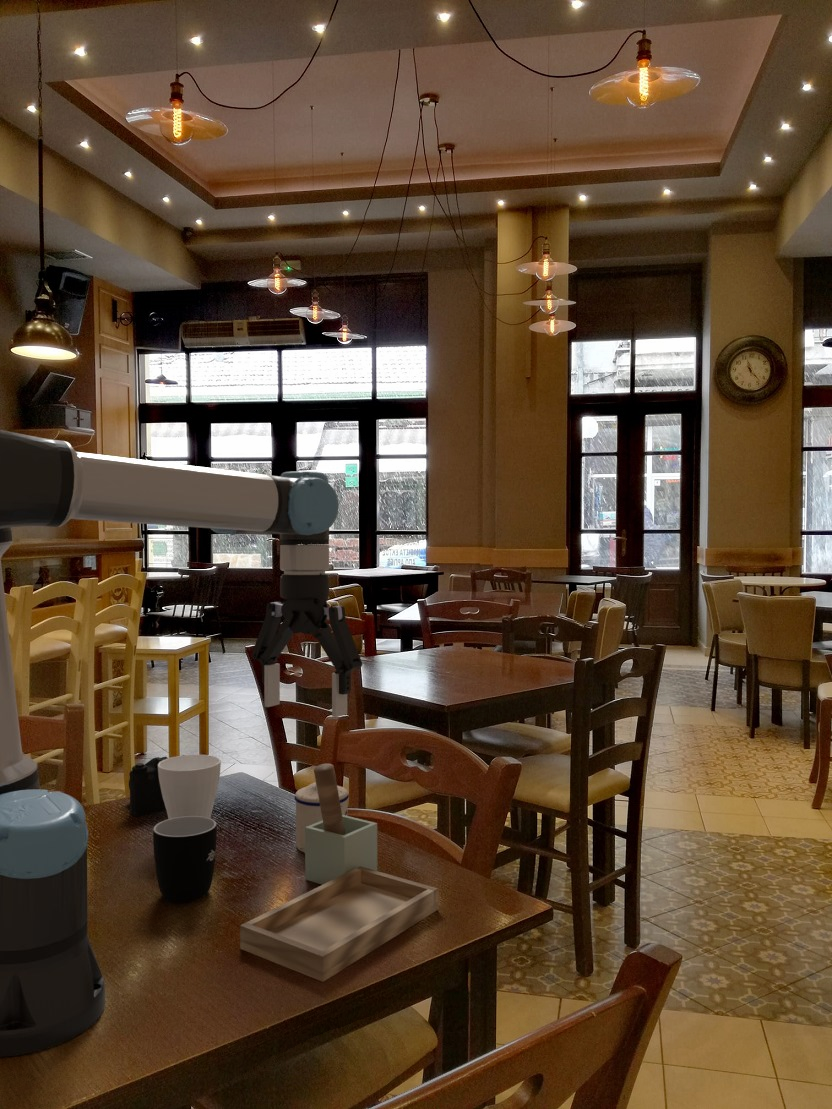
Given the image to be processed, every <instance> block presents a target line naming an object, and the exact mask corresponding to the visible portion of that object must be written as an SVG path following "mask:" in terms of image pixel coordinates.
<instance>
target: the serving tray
mask: <svg viewBox="0 0 832 1109" xmlns="http://www.w3.org/2000/svg"><path fill="white" fill-rule="evenodd" d="M438 889H439V888H438V887H434V886H430V885H428V884H424V883H419V882H417V881H413V880H409V879H405V878H403V877H399V876H395V875H392V874H389V873H385V872H381V871H379V870H377V871H375V870H372V869H368V868H365V867H361V866H360V867H358V868H356V869H354V870H352V871H349V872H347V873H345V874H343V875H341V876H339V877H337V878H335V879H333V880H331V881H329V882H327V883H325V884H323V885H322V884H320V886H317V887H315V888H313V889H311V890H309V891H307V892H305V893H303V894H300V895H299V896H297V897H295V898H293V899H291V900H288V901H287V902H285V903H283V904H280V905H278V906H276V907H275V908H272V909H270V910H269V911H266V912H264V913H262V914H260V915H258V916H257V917H255V918H253V919H251V920H248V921H246V922H244V923H242V924H240V925H239V937H240V938H239V941H240V942H239V943H240V944H239V945H240V947H239V948H240V949H241V950H242V951H245V952H247V953H249V954H252V955H255V956H258V957H260V958H262V959H265V960H267V961H270V962H272V963H274V964H277V965H280V966H282V967H284V968H287V969H290V970H293V971H295V972H298V973H299V974H302V975H305V976H308V977H310V978H312V979H314V980H316V981H320V982H322V983H323V982H326V980H329V979H330V978H332V977H333V976H335V975H336V974H338V973H339V972H341V971H343V970H344V969H346V968H347V967H349V966H351V965H352V964H353V963H355V962H357V961H358V960H361V959H362V958H363V957H365V956H366V955H369V954H370V953H371V952H373V951H375V950H376V949H378V948H379V947H381V946H382V945H384V944H385V943H387V942H389V941H390V940H392V939H393V938H395V937H397V936H399V935H400V934H402V933H403V932H405V931H406V930H407V929H410V928H411V927H413V926H414V925H416V924H417V923H419V922H421V921H422V920H424V919H425V918H427V917H428V916H430V915H432V914H433V913H435V912H436V911H438V910H439V890H438Z"/></svg>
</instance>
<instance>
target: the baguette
mask: <svg viewBox="0 0 832 1109" xmlns="http://www.w3.org/2000/svg"><path fill="white" fill-rule="evenodd" d="M313 773H314V779H315V782H316V786H317V791H318V797H319V802H320V808H321V814H322V819H323V825H324V830H325V831H329V832H333V833H336V834H340V835H346V834H345V829H344V823H343V817H342V811H341V805H340V800H339V794H338V788H337V786H338V784H337V777H336V771H335V767H334V765H333V764H332V763H321V764H319V765H317V766H315V767H314V768H313Z"/></svg>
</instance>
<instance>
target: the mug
mask: <svg viewBox="0 0 832 1109" xmlns="http://www.w3.org/2000/svg"><path fill="white" fill-rule="evenodd" d="M217 826H218V825H217V822H216V820H214V819H212V818H211V819H210V818H207V817H201V816H184V817H176V818H172V819H165V820H163V821H160V822H158V823H157V824H155V826H154V827H153V830H152V844H153V855H154V866H155V867H154V868H155V873H156V874H155V875H156V879H157V880H156V881H157V884H158V888H159V891H160V894H161V896H162V898H163V899H164V900H165V901H167V902H169V903H175V904H186V903H187V904H188V903H193V902H196V901H199V900H201V899H203V898H204V897H206V896H207V895H208V893H209V891H210V890H211V885H212V883H213V877H214V871H215V864H216V853H217V841H218V840H217V839H218V838H217V836H218V833H217V832H218V831H217V830H218V828H217Z"/></svg>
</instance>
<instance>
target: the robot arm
mask: <svg viewBox="0 0 832 1109" xmlns="http://www.w3.org/2000/svg"><path fill="white" fill-rule="evenodd" d="M338 513H339V500H338V495H337V493H336V491H335V489H334V487H333V486H332V485H331V484H330V483H329V479H328V476H327V475H326V474H325V473H324V472H323V473H322V472H318V471H303V470H302V471H285V472H282V473H281V474H280V475H279V476H278V475H268V474H264V473H263V474H262V473H257V472H256V473H254V472H247V471H239V470H231V469H220V468H213V467H205V466H197V465H196V466H195V465H191V464H190V465H188V464H183V463H182V464H180V463H172V462H163V461H156V460H147V459H140V458H139V459H137V458H131V457H124V456H123V457H122V456H115V455H106V454H105V455H104V454H97V453H90V452H81V451H76V450H75V449H74V447H73V446H72V445H71V443H69V442H68V441H65V440H60V439H59V440H58V439H51V438H44V437H39V436H33V435H29V434H28V435H27V434H24V433H19V432H13V431H8V430H4V429H0V1057H12V1056H13V1057H14V1056H21V1055H27V1054H32V1053H36V1052H40V1051H43V1050H47V1049H50V1048H52V1047H56V1046H58V1045H60V1044H64V1043H65V1042H68V1041H69V1040H71V1039H73V1038H75V1037H77V1036H78V1035H80V1034H82V1033H83V1032H85V1031H86V1030H87V1029H89V1028H90V1027H91V1026H93V1025H94V1024H95V1023H96V1022H97V1020H98V1019H99V1018H100V1017H101V1016H102V1014H103V1011H104V1009H105V1007H106V983H105V978H104V976H103V973H102V970H101V968H100V966H99V963H98V960H97V958H96V955H95V952H94V949H93V946H92V944H91V941H90V939H89V936H88V935H89V934H88V933H89V932H88V928H89V927H88V922H89V921H88V843H89V830H88V825H87V822H86V819H87V818H86V813H85V809H84V807H83V805H82V803H80V802H79V801H78V800H77V799H76V798H75V797H73V796H71V795H70V794H67V793H64V792H62V791H61V792H60V791H56V790H55V791H53V792H50V790H49V789H41V787H40V786H41V785H40V779H39V770H38V763H37V761H35V760H34V759H33V758H31V757H30V756H28V755H26V754H25V753H24V752H23V750H22V740H21V739H22V738H21V732H20V720H19V714H18V704H17V694H16V686H15V677H14V676H15V675H14V669H13V668H14V666H13V660H12V650H11V640H10V632H9V624H8V622H9V621H8V614H7V604H6V595H5V587H4V586H5V585H4V577H3V569H2V557H3V555H4V554H5V553H6V551H8V549H9V548H10V547H11V546H12V545H13V544H14V542H13V535H12V534H13V533H12V531H13V530H12V528H20V527H50V528H51V527H52V528H53V527H54V528H60V527H62V526H64V525H65V524H66V523H68V522H69V521H70V520H84V521H98V522H113V523H115V522H116V523H129V524H130V523H131V524H145V525H158V526H170V527H171V526H174V527H187V528H188V527H189V528H202V529H210V530H212V532H214V533H216V534H224V535H225V534H226V535H227V534H228V535H231V536H235V535H279V540H280V541H279V548H280V550H279V551H280V552H279V553H280V554H279V569H280V571H282V572H283V574H281V576H280V577H279V578H280V579H279V596H280V598H282V599H283V601H274V602H273V601H272V602H268V603H267V604H266V607H265V608H266V609H265V617H264V620H263V622H262V625H261V628H260V631H259V633H258V636H257V638H256V641H255V644H254V647H253V649H252V652H251V655H250V656H251V659H252V660H257V661H258V662H259V663H260V664H261V682H262V685H264V691H263V692H264V707H265V708H270V707H274V706H277V705H281V704H280V703H281V696H280V695H281V693H280V692H281V685H280V681H281V680H280V678H281V676H280V675H281V665H280V664H281V663H278V662H279V660H278V658H279V656H280V655H281V654H282V652H283V651H284V649H286V646H287V645H288V643H289V642H290V640H291V639H292V637H293V636H294V635H295V634H303V635H312V637H313V638H315V639H316V640H317V641H318V643H319V645H320V646H321V648H322V649H323V652H324V653H325V654H326V656H327V658H328V659H329V661H330V662H331V664H332V665H333V667H334V669H335V671H334V672H332V673H331V679H332V680H331V717H332V718H339V717H341V716H345V715H348V694H351V690H352V684H351V683H352V678H351V677H352V676H351V675H352V672H353V671H354V670H357V669H361V668H362V667H363V661H362V659H361V658H362V657H361V656H360V654H359V651H358V648H357V645H356V642H355V641H354V637H353V636H352V633H351V630H350V627H349V625H348V622H347V617H346V609H345V606H344V605H334V606H328V603H327V601H328V598H329V597H330V576H329V574H327V573H326V572H327V571H328V570H330V528H331V527H332V526H333V525H334V523H335V521H336V520H337V517H338V515H339V514H338ZM282 616H283V618H284V619H283V620H282ZM281 620H282V622H281ZM327 620H329V622H328V621H327ZM280 622H281V624H280Z"/></svg>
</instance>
